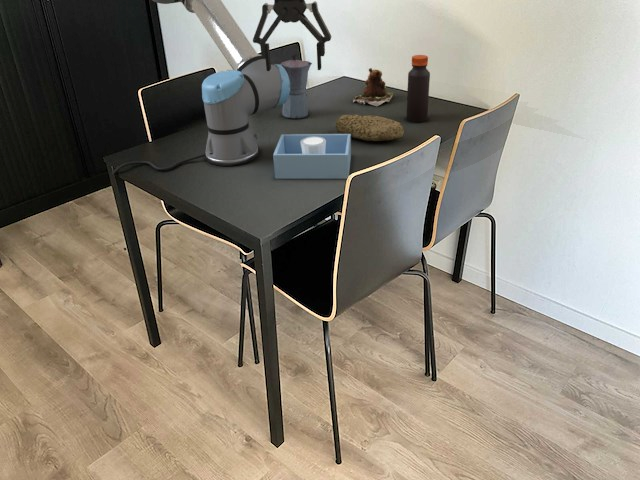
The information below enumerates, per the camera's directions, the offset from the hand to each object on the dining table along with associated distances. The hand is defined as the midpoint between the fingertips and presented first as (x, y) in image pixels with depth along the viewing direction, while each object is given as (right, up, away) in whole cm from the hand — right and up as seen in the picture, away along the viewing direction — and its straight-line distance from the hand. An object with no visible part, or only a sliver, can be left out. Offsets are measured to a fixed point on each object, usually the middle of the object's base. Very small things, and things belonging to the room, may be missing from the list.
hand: (294, 69), depth 147 cm
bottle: (+39, -6, +34) cm, 52 cm away
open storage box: (+5, -25, +6) cm, 26 cm away
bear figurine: (+27, +5, +53) cm, 60 cm away
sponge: (+22, -14, +22) cm, 34 cm away
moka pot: (-2, -3, +42) cm, 43 cm away
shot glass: (+5, -25, +6) cm, 26 cm away
